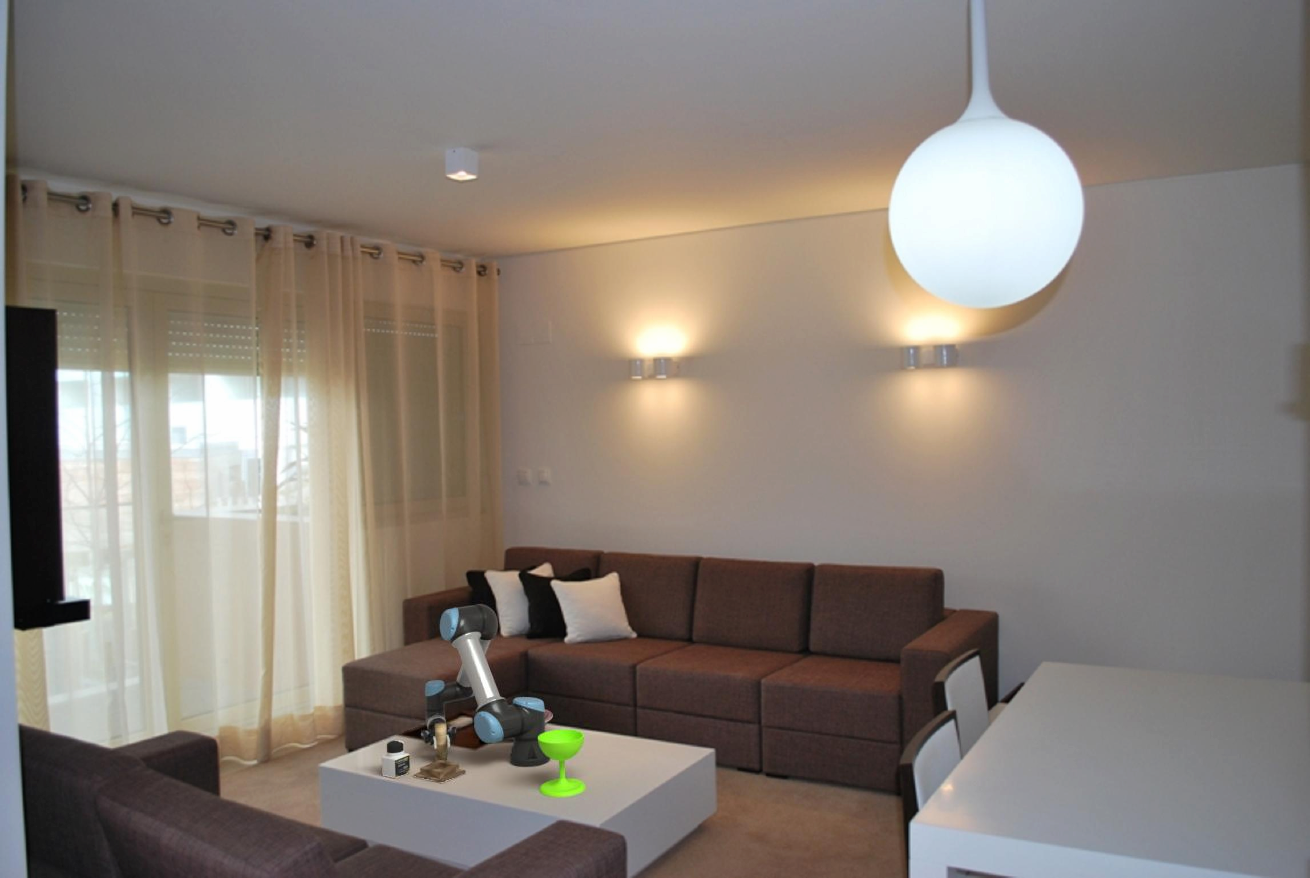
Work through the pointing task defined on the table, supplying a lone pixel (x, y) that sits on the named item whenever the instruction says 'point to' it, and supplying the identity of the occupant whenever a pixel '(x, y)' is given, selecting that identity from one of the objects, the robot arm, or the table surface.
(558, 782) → the wineglass
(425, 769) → the brown stepped square base
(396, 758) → the medicine bottle
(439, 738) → the oak dowel
